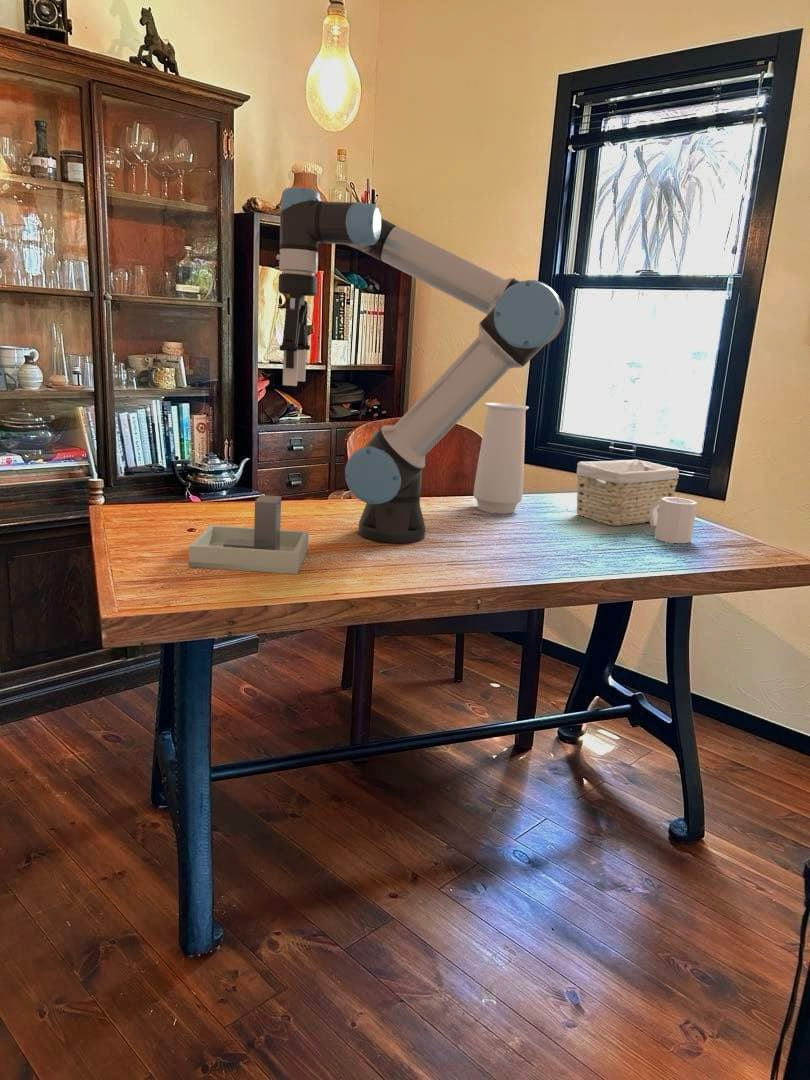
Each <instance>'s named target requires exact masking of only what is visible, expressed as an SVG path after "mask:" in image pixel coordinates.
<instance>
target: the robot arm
mask: <svg viewBox="0 0 810 1080" xmlns="http://www.w3.org/2000/svg"><path fill="white" fill-rule="evenodd" d="M280 201H281V202H280V210H279V221H280V222H279V254H277V255H276V256H275V257H276V260H278V261H279V266H278V268H279V271H280V272H281V273H279V275H278V288H277V289H278V293H279V294H280V295H281V294H282V295H289V297H286V299H285V303H286V304H285V314H284V324H283V325H284V326H283V336H282V343H281V344H280V345H279V350H280V351H282V352H283V360H282V361H283V362H282V363H283V365H282V386H290V387H291V386H292V387H297V386H298V382H306V373H307V372H306V371H307V370H306V366H307V351H310V350H311V349H310V348H311V345H310V344H309V343H308V312H309V309H308V308H309V306H308V301H307V300H305V299H306V298H305V297H307V296H308V297H315V296H316V295H317V287H318V278H317V277H316V276H315V275H316V274H318V268H319V267H318V266H319V244H332V245H333V244H334V245H346V246H348V247H351V248H353V249H356V250H359V251H360V252H363V253H365V254H367V255H368V256H371V257H372V258H375V259H377V260H378V261H382V262H383V263H385V264H388V265H389V266H391V267H393V268H395V269H397V270H399V271H401V272H402V273H405V274H407V275H409V276H410V277H413V278H414V279H417V280H419V281H421V282H422V283H425V284H427V285H428V286H431V287H432V288H435V289H436V290H438V291H440V292H441V293H444V294H446V295H448V296H450V297H452V298H454V299H455V300H457V301H460V302H462V303H464V304H466V305H468V306H470V307H472V308H474V309H476V310H477V311H480V312H481V313H483V314H486V316H485V317H483V319H482V320H481V321H480V323H479V324H478V335H477V337H476V339H474V340H473V342H472V343H471V344H470V345H469V346H468V347H467V348H466V349H465V350H464V351H463V352H462V353H461V354H460V355H459V356H457V357H458V358H456V359H455V361H453V363H452V364H451V365H450V366H449V367H448V368H446V370H445V371H444V372H443V373H442V375H440V377H438V378H437V380H436V381H435V382H434V383H433V384H432V385H431V386H430V387H429V388H428V389H427V390H426V391H425V392H424V393H423V395H421V397H420V398H418V399H417V400H416V402H415V403H414V404H413V405H412V406H411V407H410V408H409V409H408V411H406V413H405V414H404V415H403V416H402V417H401V418H399V420H398V421H397V422H396V423H395V424H394V425H383V426H382V427H381V428H380V429H379V430H378V431H374V432H373V433H372V434H371V438H370V439H369V440H368V441H367V443H366V444H365V445H364V446H363V447H361V448H358V449H356V450H355V451H354V452H353V453H352V454H351V456H349V459H348V460H347V462H346V465H345V469H344V477H345V482H346V485H347V487H348V489H349V491H350V492H351V494H352V495H353V496H354V497H355V498H356V499H357V500H359V501H361V502H363V503H366V504H365V505H364V509H363V511H362V514H361V517H360V519H359V521H358V529H357V530H358V532H357V533H358V534H359V536H361V537H362V538H365V539H368V540H371V541H375V542H381V543H389V544H390V543H392V544H403V543H404V544H409V543H415V542H419V541H420V542H421V541H422V540H424V539H425V537H426V525H425V521H424V516H423V512H422V511H423V510H422V507H421V503H420V502H421V490H422V477H423V469H424V468H425V467H426V455H427V454H428V453H429V452H430V451H431V450H432V449H433V448H434V447H435V446H436V445H437V444H438V443H439V442H440V441H441V440H442V439H443V438H444V437H445V436H446V435H447V434H448V433H449V431H451V430H452V429H453V427H455V426H456V425H457V423H459V422H460V421H461V419H462V418H463V417H464V416H465V415H466V414H467V413H469V411H470V410H471V409H472V408H473V407H474V406H476V404H477V403H478V402H479V401H480V400H481V399H482V398H483V397H484V396H485V395H486V394H487V393H488V392H489V391H490V390H491V389H492V388H493V386H496V383H498V382H499V381H500V380H501V379H502V377H503V376H504V375H506V374H507V373H508V371H510V369H517V368H519V369H520V368H521V369H523V367H524V366H526V365H527V363H529V361H531V360H532V359H533V357H535V356H536V354H538V353H539V351H540V350H542V349H543V348H544V347H545V346H547V345H548V344H550V343H551V342H553V341H554V340H555V339H556V338H557V337H558V336H559V334H560V333H561V331H562V330H563V327H564V325H565V320H566V310H565V306H564V303H563V301H562V299H561V298H560V296H559V295H558V293H556V291H555V289H553V288H552V287H550V286H549V285H548V284H547V283H546V282H545V283H544V282H542V281H539V280H535V279H531V280H530V279H528V280H519V279H516V278H515V277H512V276H511V277H509V278H507V279H505V278H503V277H502V276H501V277H500V276H499V275H497V274H495V273H493V272H491V271H489V270H487V269H484V268H483V267H481V266H478V265H477V264H475V263H472V262H470V261H469V260H467V259H464V258H463V257H460V256H458V255H456V254H455V253H453V252H451V251H448V250H446V249H444V248H442V247H440V246H439V245H437V244H434V243H433V242H430V241H429V240H427V239H424V238H422V237H420V236H419V235H416V234H414V233H412V232H410V231H409V230H408V231H407V230H406V229H404V228H402V227H400V226H398V225H395V224H394V223H392V222H390V221H389V220H386V219H384V218H383V217H382V216H381V212H380V209H379V207H378V206H377V204H374V203H369V202H368V203H367V202H362V201H356V202H348V201H346V202H345V201H323V200H322V199H321V194H320V192H319V191H318V190H316V189H313V188H308V187H299V186H298V187H297V186H296V187H295V186H294V187H293V186H292V187H286V188H285V189H283V191H282V193H281V199H280Z"/></svg>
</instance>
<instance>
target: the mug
mask: <svg viewBox="0 0 810 1080" xmlns="http://www.w3.org/2000/svg"><path fill="white" fill-rule="evenodd" d="M697 507H698V502H697V501H694V500H692V499H687V498H683V497H677V496H674V497H664V498H661V499H660V500H658V501H657V502H655V503H654V504H653V505H652V506H651V507H650V508H649V510H650V522H649V523H650V526H652V527H655V532H654V536H653V537H656V538H657V539H656V538H655V539H656V540H658V539H659V540H658V541H660V540H661V541H660V542H662V541H665V542H664V543H668V542H670V543H669V544H673V543H688V542H690V541H691V542H692V539H693V538H692V537H693V531H694V524H695V520H696V513H697V509H698V508H697ZM658 508H659V512H657V509H658ZM691 542H690V543H691ZM688 544H689V543H688Z"/></svg>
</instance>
